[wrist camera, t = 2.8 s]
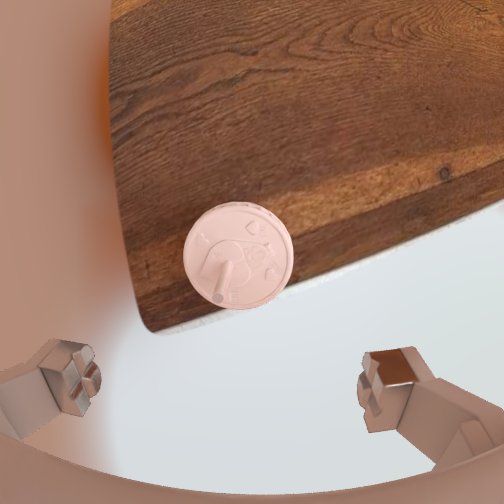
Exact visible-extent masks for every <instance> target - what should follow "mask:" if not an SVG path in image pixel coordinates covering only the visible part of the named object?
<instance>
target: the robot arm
mask: <svg viewBox="0 0 504 504" xmlns="http://www.w3.org/2000/svg"><path fill="white" fill-rule="evenodd" d="M94 357H95V355H94V352H93V350H92V347H90V346H89V345H88V344H82V343H76V342H70V341H63V340H59V339H49V340H48V341H47V342H46V343H45V344H44V345H43V346H42V347H41V348H40V349H39V350H38V351H37V352H36V353H35V354H34V355H33V357H32V358H30V359H29V361H27V362H26V364H25V363H21V364H18V365H16V366H13V367H11V368H8V369H6V370H3V371H1V372H0V504H504V411H503V409H502V408H500V407H498V406H496V405H494V404H492V403H489V402H488V401H486V400H484V399H482V398H480V397H478V396H475V395H473V394H471V393H469V392H467V391H465V390H463V389H461V388H459V387H457V386H455V385H453V384H451V383H449V382H447V381H445V380H443V379H441V378H437V379H436V378H435V377H434V375H433V374H432V372H431V370H430V369H429V367H428V366H427V364H426V363H425V361H424V360H423V358H422V357H421V355H420V354H419V353H418V351H417V349H416V348H415V347H413V346H410V347H404V348H398V349H393V350H384V351H374V352H365V354H364V356H363V360H362V366H363V369H364V371H363V372H362V373H361V374H360V375H359V379H358V384H357V395H358V400H359V404H360V406H361V407H363V408H364V409H365V413H364V420H365V423H366V426H367V429H368V432H369V433H373V432H381V431H388V430H394V429H397V432H399V433H400V434H401V435H402V436H403V437H404V438H406V439H407V440H408V441H409V442H410V443H412V444H413V445H414V446H415V447H416V448H418V449H419V450H420V451H421V452H422V453H424V454H425V455H426V456H427V457H428V458H430V459H431V460H432V461H433V462H434V463H436V465H435V466H434V468H433V469H432V471H430V472H427V473H423V474H419V475H416V476H412V477H408V478H404V479H400V480H395V481H390V482H386V483H381V484H376V485H371V486H365V487H358V488H352V489H345V490H337V491H328V492H319V493H305V494H285V495H245V494H226V493H212V492H202V491H193V490H185V489H178V488H171V487H166V486H160V485H154V484H149V483H144V482H140V481H135V480H131V479H126V478H122V477H118V476H114V475H110V474H107V473H103V472H100V471H97V470H93V469H90V468H87V467H84V466H80V465H78V464H75V463H71V462H69V461H66V460H63V459H61V458H58V457H55V456H53V455H50V454H48V453H45V452H43V451H40V450H38V449H35V448H33V447H31V446H29V445H27V444H24V442H23V440H22V439H24V438H26V437H27V436H29V435H30V434H32V433H33V432H35V431H36V430H38V429H39V428H41V427H42V426H44V425H45V424H47V423H48V422H50V421H51V420H53V419H54V418H55V417H57V416H58V415H60V414H61V412H63V413H66V414H70V415H74V416H79V417H83V416H84V414H85V412H86V411H87V409H88V407H89V406H90V404H91V403H90V398H91V397H93V396H95V395H96V394H97V393H98V391H99V389H100V385H101V373H100V370H99V367H98V366H97V365H96V364H95V363H94V362H93V359H94Z"/></svg>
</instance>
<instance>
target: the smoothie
mask: <svg viewBox="0 0 504 504" xmlns="http://www.w3.org/2000/svg"><path fill="white" fill-rule="evenodd" d="M183 261H184V267H185V271H186V274H187V276H188V278H189V280H190V282H191V284H192V285H193V287H194V288H195V289H196V290H197V291H198V292H199V294H201V295H202V296H203V297H204V298H205V299H207V300H208V301H210V302H212V303H214V304H216V305H218V306H221V307H224V308H228V309H235V310H244V309H251V308H255V307H258V306H261V305H263V304H265V303H267V302H269V301H271V300H272V299H273V298H275V297H276V296H277V295H278V294H279V293H280V292H281V291H282V290H283V288H284V287H285V285H286V284H287V282H288V280H289V278H290V275H291V272H292V268H293V247H292V242H291V237H290V235H289V234H288V232H287V230H286V228H285V226H284V224H283V223H282V222H281V221H280V220H279V219H278V218H277V217H276V216H275V215H274V214H273V213H271V212H270V211H268V210H266V209H265V208H263V207H261V206H259V205H257V204H255V203H252V202H229V203H225V204H221V205H218V206H216V207H214V208H212V209H210V210H209V211H207V212H205V213H204V214H203V215H202V216H201V217H200V218H199V219H198V220H197V221H196V222H195V224H194V226H193V227H192V229H191V230H190V232H189V234H188V236H187V238H186V241H185V245H184V251H183Z"/></svg>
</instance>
